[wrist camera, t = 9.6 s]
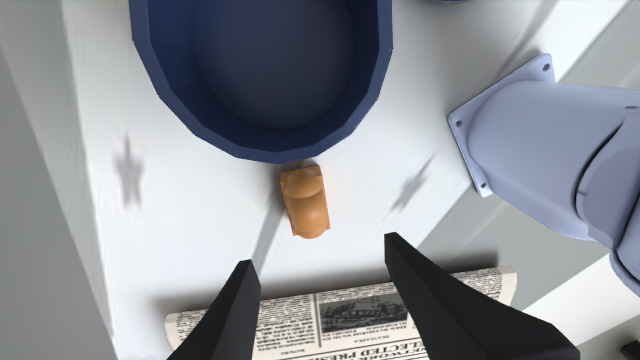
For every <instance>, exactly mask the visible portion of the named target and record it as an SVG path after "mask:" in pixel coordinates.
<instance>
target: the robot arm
mask: <svg viewBox="0 0 640 360" xmlns="http://www.w3.org/2000/svg"><path fill="white" fill-rule="evenodd" d="M543 66H544V69H543ZM448 121H449V124H450V126H451V129H452V131H453V133H454V136H455V138H456V141H457V143H458V145H459V148H460V150H461V153H462V155H463V157H464V160H465V162H466V165H467V167H468V169H469V172H470V174H471V177H472V179H473V181H474V184H475V186H476V189H477V191H478V193H479V195H480V196H482V197H487V196H489V195H491V194H492V193H495V194H496V195H498V196H499V197H501V198H502V199H504V200H505V201H507V202H509V203H510V204H512V205H513V206H515V207H516V208H518V209H519V210H521V211H522V212H524V213H525V214H527V215H529V216H530V217H532V218H533V219H535V220H536V221H538V222H539V223H541V224H542V225H544V226H545V227H547V228H549V229H551V230H552V231H554V232H557V233H559V234H562V235H565V236H568V237H572V238H577V239H582V240H589V241H597V242H599V243H601V244H602V245H604V246H606V247H608V248H609V249H611V250H610V255H609V259H610V263H611V266H612V268H613V270H614V272H615V273H616V275H617V276H618V277H619V279H620V280H621V281H622V282H623V283H624V284H625V285H626V286H627V287H628V288H629V289H630V290H631V291H633V292H634V293H635V294H636V295H638V296H639V297H640V89H630V88H618V87H605V86H593V85H581V84H568V83H556V82H555V77H554V71H553V65H552V59H551V55H550V54H548V53H547V54H540V55H538V56H537V57H535V58H534V59H532V60H531V61H529V62H528V63H526V64H525V65H523V66H522V67H520V68H519V69H517V70H515V71H514V72H512V73H511V74H509V75H508V76H506V77H505V78H503V79H502V80H500V81H499V82H497V83H496V84H494V85H493V86H491V87H490V88H488V89H487V90H485V91H484V92H482V93H481V94H479V95H478V96H476V97H474V98H473V99H471V100H470V101H468V102H467V103H465V104H464V105H462V106H461V107H459V108H458V109H456V110H455V111H453V112H452V113H451V114H450V115H449V117H448ZM457 121H459V123H458V125H456V122H457ZM482 183H483V184H482ZM481 184H482V185H481ZM384 243H385V263H386V266H387V269H388V271H389V274H390V277H391V279H392V281H393V283H394V285H395V287H396V289H397V291H398V293H399V295H400V297H401V299H402V301H403V302H404V304H405V306H406V308H407V310H408V312H409V314H410V316H411V318H412V320H413V322H414V324H415V326H416V328H417V330H418V333H419V335H420V338H421V340H422V342H423V345H424V347H425V350H426V352H427V355H428V357H429V360H580V351H579V350H578V349H577V348H576V347H575V346H574V345H573V344H572V343H571V342H570V341H569V340H568V339H567V338H566V337H565V336H564V335H563V334H562V333H561V332H560V331H559V330H558V329H557V328H556V327H555V326H554V325H553V324H551V323H548V322H546V321H543V320H541V319H538V318H536V317H533V316H531V315H528V314H526V313H523V312H521V311H519V310H516V309H514V308H512V307H510V306H508V305H505V304H503V303H501V302H499V301H497V300H495V299H493V298H491V297H489V296H487V295H485V294H483V293H481V292H479V291H477V290H476V289H474V288H472V287H470V286H468V285H467V284H465V283H463V282H462V281H460V280H458V279H457V278H455V277H453V276H452V275H450V274H449V273H447V272H446V271H444V270H443V269H442V268H440V267H439V266H437V265H436V264H435V263H433V262H432V261H430V260H429V259H428V258H427V257H425V256H424V255H423V254H421V253H420V252H419V251H418V250H416V249H415V248H414V247H413V246H412V245H410V244H409V243H408V242H407V241H406V240H405V239H403V238H402V237H401V236H400V235H399V234H398V233H396V232H392V233H387V234H384ZM260 296H261V285H260V282H259V279H258V277H257V274H256V271H255V269H254V266H253V263H252V261H251V259H249V260H244V261H239V263H238V264H237V266H236V267H235V269H234V271H233V272H232V274H231V275H230V277H229V279H228V280H227V282H226V283H225V285H224V287H223V288H222V290H221V291H220V293H219V294H218V296H217V297H216V299H215V300H214V302H213V303H212V305H211V306H210V307H209V309H208V310H207V312H206V313H205V314H204V316H203V317H202V318H201V320H200V321H199V322H198V324H197V325H196V326H195V327H194V329H193V330H192V331H191V332H190V334H189V335H188V336H187V337H186V338H185V340H184V341H183V342H182V343H181V344H180V345H179V346H178V347H177V349H176V350H175V351H174V352H173V353H172V354H171V355H170V356H169V357H168V358H167V360H252V355H253V348H254V341H255V335H256V329H257V322H258V316H259V309H260Z"/></svg>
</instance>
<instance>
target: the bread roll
mask: <svg viewBox="0 0 640 360" xmlns="http://www.w3.org/2000/svg"><path fill="white" fill-rule="evenodd" d="M280 184H281V188H282V192H283V196H284V200H285V204H286V208H287V212H288V216H289V220H290V224H291V228H292V232H293V235H294V236H295V235H299V236H301V237H303V238H306V239H313V238H316V237H318V236H320V235H321V234H322V233H323V232H324V231H325V230H327V229H330V223H329V216H328V210H327V203H326V197H325V190H324V184H323V178H322V173H321V170H320V166H319V165H318V166H312V167H306V168H301V169H295V170H289V171H284V172H281V181H280Z"/></svg>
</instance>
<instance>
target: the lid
mask: <svg viewBox="0 0 640 360" xmlns="http://www.w3.org/2000/svg"><path fill="white" fill-rule="evenodd" d="M433 1H437V2H446V3H454V2H463V1H467V0H433Z"/></svg>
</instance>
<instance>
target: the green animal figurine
mask: <svg viewBox="0 0 640 360" xmlns="http://www.w3.org/2000/svg"><path fill="white" fill-rule="evenodd" d="M622 353H623V355H624V356H625V357H626V358H627V359H628V360H640V342H638V341H637V342H635V343H632V344H630V345H628V346H625V347H623V348H622Z"/></svg>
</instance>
